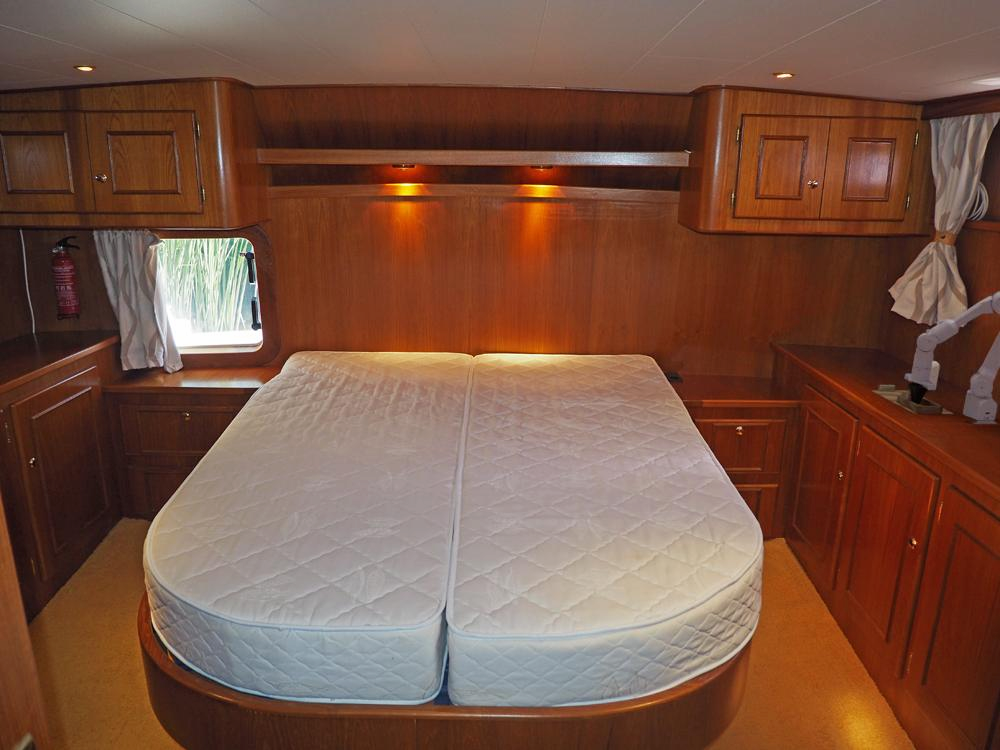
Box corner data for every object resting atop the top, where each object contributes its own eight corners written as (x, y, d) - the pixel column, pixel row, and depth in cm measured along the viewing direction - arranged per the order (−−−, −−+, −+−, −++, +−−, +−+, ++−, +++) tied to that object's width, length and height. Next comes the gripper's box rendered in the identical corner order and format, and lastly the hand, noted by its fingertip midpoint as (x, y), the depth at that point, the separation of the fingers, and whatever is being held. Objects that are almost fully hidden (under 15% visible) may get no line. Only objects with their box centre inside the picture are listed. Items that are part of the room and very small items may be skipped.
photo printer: (924, 395, 272) (929, 364, 269) (912, 392, 276) (918, 361, 273) (937, 391, 278) (942, 360, 275) (925, 388, 282) (931, 358, 278)
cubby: (941, 413, 246) (943, 406, 245) (917, 413, 246) (919, 406, 245) (919, 402, 258) (920, 395, 258) (896, 402, 258) (897, 395, 257)
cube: (917, 404, 256) (919, 393, 255) (906, 404, 256) (908, 393, 255) (910, 401, 260) (912, 390, 259) (900, 401, 260) (902, 390, 259)
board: (953, 417, 246) (955, 407, 245) (913, 417, 246) (915, 407, 245) (906, 394, 273) (907, 385, 272) (870, 394, 273) (871, 384, 272)
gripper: (899, 361, 257) (893, 397, 260) (923, 372, 243) (916, 410, 247) (918, 361, 257) (911, 397, 261) (943, 372, 243) (936, 410, 247)
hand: (915, 403), depth 254 cm, fingers closed
